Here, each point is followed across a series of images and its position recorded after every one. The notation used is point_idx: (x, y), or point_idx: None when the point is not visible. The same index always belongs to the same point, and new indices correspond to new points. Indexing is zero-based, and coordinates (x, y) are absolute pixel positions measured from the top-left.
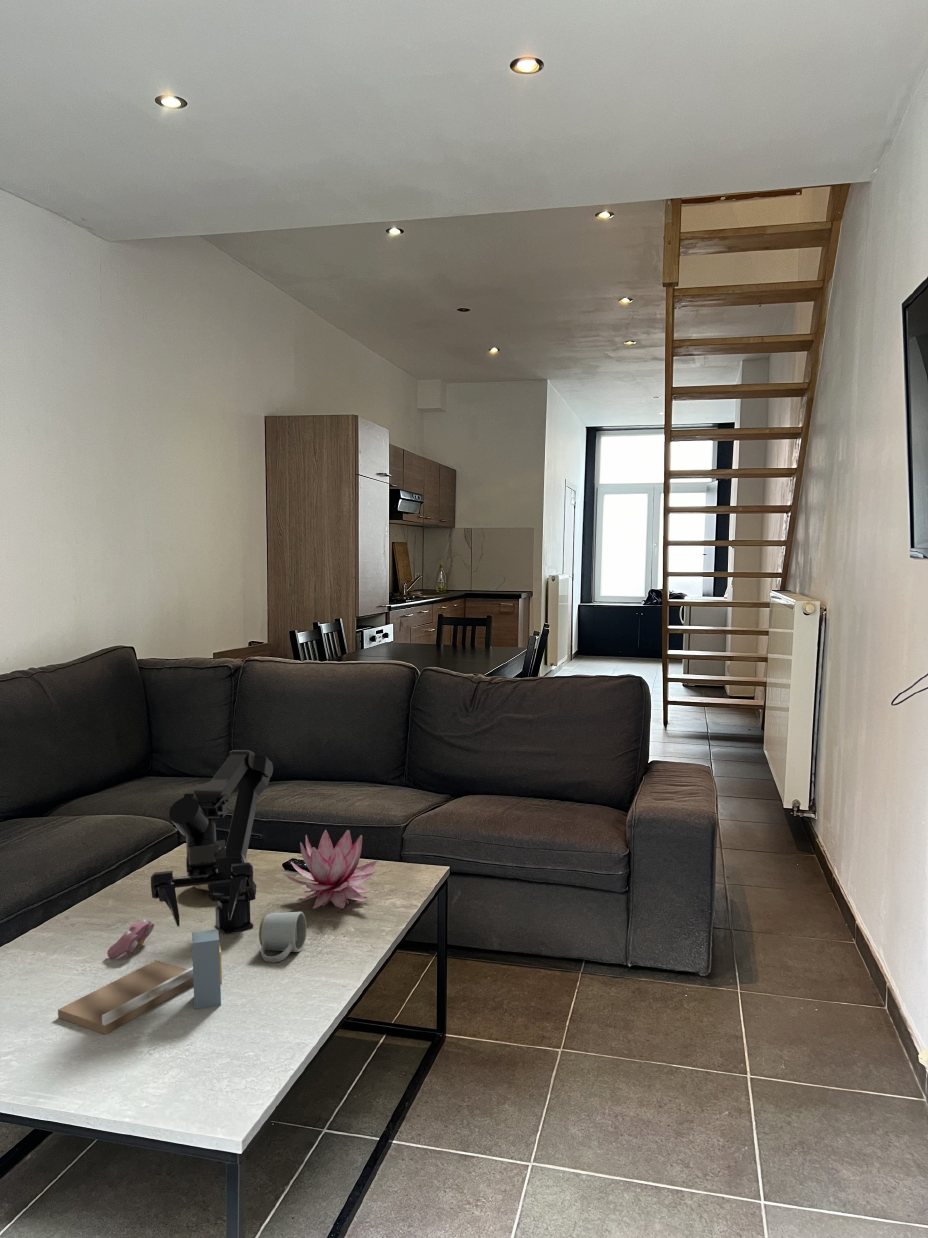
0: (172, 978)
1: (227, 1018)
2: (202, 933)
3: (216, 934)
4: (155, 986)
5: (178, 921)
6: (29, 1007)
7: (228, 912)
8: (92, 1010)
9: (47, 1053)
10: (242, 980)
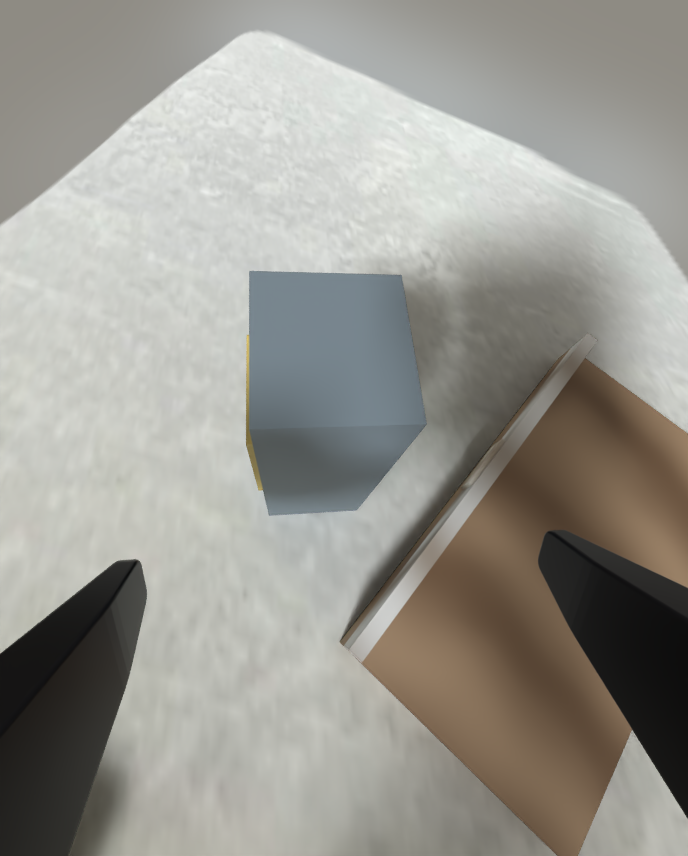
0: (449, 533)
1: None
2: (354, 388)
3: (262, 344)
4: (500, 557)
5: (567, 537)
6: None
7: (119, 585)
8: (641, 438)
9: (650, 321)
10: (177, 603)
